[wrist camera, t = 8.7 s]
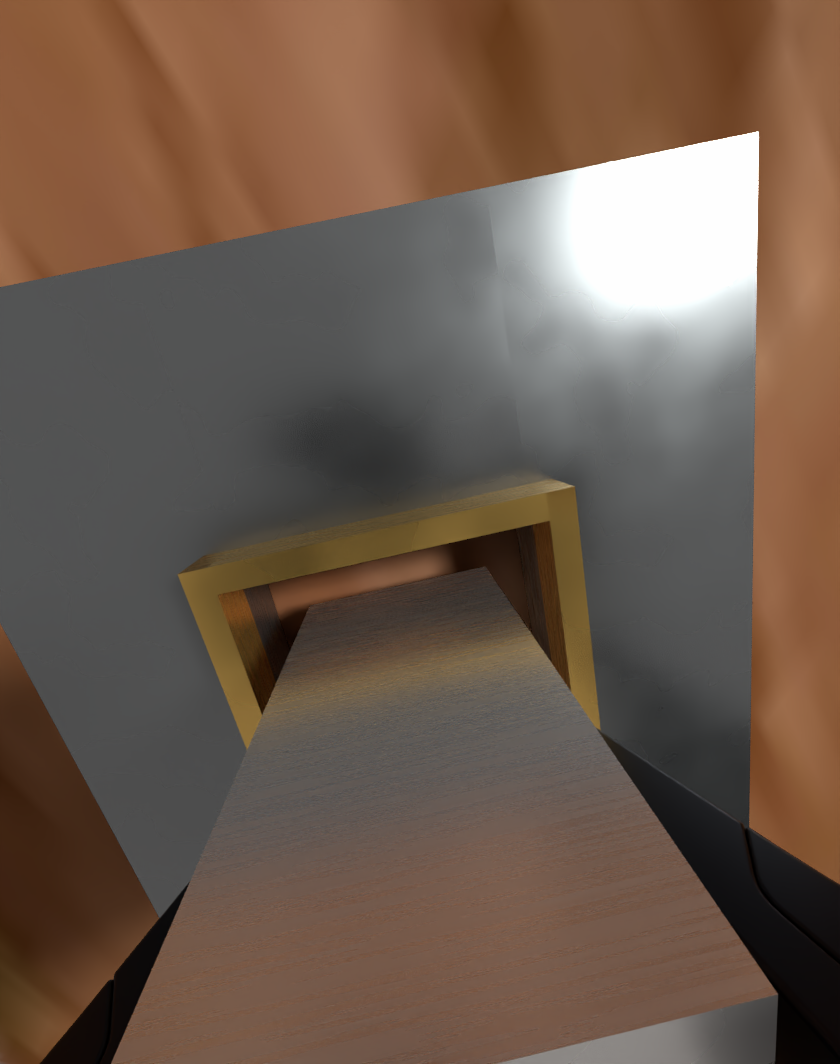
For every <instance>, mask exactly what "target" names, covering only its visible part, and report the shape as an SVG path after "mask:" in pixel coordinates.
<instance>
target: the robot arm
mask: <svg viewBox="0 0 840 1064" xmlns="http://www.w3.org/2000/svg"><path fill="white" fill-rule="evenodd" d="M596 729H597V730H598V732H599V733H600V735H601V736H602V738H603V739H604V741H605V742H606V744H607V745H608V746H609V748H610V749H611V751H612V752H613V754H614V755H615V757H616V758H617V760H618V761H619V763H620V764H621V765H622V767H623V768H624V770H625V771H626V773H627V774H628V776H629V777H630V779H631V780H632V782H633V783H634V784H635V786H636V787H637V789H638V790H639V792H640V793H641V795H642V796H643V798H644V799H645V801H646V802H647V803H648V805H649V806H650V808H651V809H652V811H653V812H654V814H655V815H656V817H657V818H658V820H659V821H660V822H661V824H662V825H663V827H664V828H665V830H666V831H667V833H668V834H669V836H670V837H671V839H672V840H673V842H674V843H675V844H676V846H677V847H678V849H679V850H680V852H681V853H682V855H683V856H684V858H685V859H686V861H687V862H688V863H689V865H690V866H691V868H692V869H693V871H694V872H695V874H696V875H697V877H698V878H699V880H700V881H701V882H702V884H703V885H704V887H705V888H706V890H707V891H708V893H709V894H710V896H711V897H712V899H713V900H714V901H715V903H716V904H717V906H718V907H719V909H720V910H721V912H722V913H723V915H724V916H725V918H726V919H727V920H728V922H729V923H730V925H731V926H732V928H733V929H734V931H735V932H736V934H737V935H738V937H739V938H740V939H741V941H742V942H743V944H744V945H745V947H746V948H747V950H748V951H749V953H750V954H751V956H752V957H753V958H754V960H755V961H756V963H757V964H758V966H759V967H760V969H761V970H762V972H763V973H764V975H765V976H766V978H767V979H768V980H769V982H770V983H771V985H772V986H773V988H774V989H775V991H776V992H777V994H778V1007H777V1030H776V1052H775V1064H840V884H838V883H836V882H835V881H833V880H831V879H829V878H828V877H826V876H825V875H823V874H821V873H820V872H818V871H817V870H815V869H813V868H812V867H810V866H809V865H807V864H806V863H804V862H802V861H801V860H799V859H798V858H796V857H794V856H793V855H791V854H790V853H788V852H786V851H785V850H783V849H782V848H780V847H778V846H777V845H775V844H774V843H772V842H771V841H769V840H768V839H766V838H765V837H763V836H762V835H760V834H759V833H757V832H756V831H754V830H752V829H751V828H746V829H745V827H744V825H743V823H741V822H740V821H738V820H737V819H735V818H734V817H732V816H731V815H729V814H728V813H726V812H725V811H723V810H721V809H720V808H718V807H717V806H715V805H714V804H712V803H711V802H709V801H708V800H706V799H705V798H703V797H702V796H700V795H699V794H697V793H695V792H694V791H692V790H691V789H689V788H688V787H686V786H685V785H683V784H682V783H680V782H679V781H677V780H676V779H674V778H673V777H671V776H669V775H668V774H666V773H665V772H663V771H662V770H660V769H659V768H657V767H656V766H654V765H653V764H651V763H650V762H648V761H647V760H645V759H643V758H642V757H640V756H639V755H637V754H636V753H634V752H633V751H631V750H630V749H628V748H627V747H625V746H624V745H622V744H621V743H619V742H617V741H616V740H614V739H613V738H611V737H610V736H608V735H607V734H605V733H604V732H602V731H601V730H599V729H598V728H596ZM190 881H191V880H190ZM189 883H190V882H189ZM189 883H188V884H187V885H186V886H185V888H184V889H183V890H182V891H181V893H180V894H179V895H178V896H177V897H176V899H175V900H174V901H173V902H172V904H171V905H170V906H169V907H168V909H167V910H166V911H165V912H164V913H163V915H162V916H161V917H160V918H159V920H158V921H157V922H156V923H155V924H154V926H153V927H152V928H151V929H150V931H149V932H148V933H147V934H146V936H145V937H144V938H143V939H142V940H141V942H140V943H139V944H138V945H137V947H136V948H135V949H134V950H133V951H132V953H131V954H130V955H129V956H128V958H127V959H126V960H125V961H124V963H123V964H122V965H121V966H120V967H119V969H118V970H117V971H116V972H115V974H114V980H109V981H108V982H107V983H106V984H105V986H104V987H103V988H102V989H101V990H100V992H99V993H98V994H97V995H96V997H95V998H94V999H93V1000H92V1002H91V1003H90V1004H89V1005H88V1006H87V1008H86V1009H85V1010H84V1011H83V1013H82V1014H81V1015H80V1016H79V1017H78V1019H77V1020H76V1021H75V1022H74V1023H73V1025H72V1026H71V1027H70V1028H69V1029H68V1031H67V1032H66V1033H65V1034H64V1035H63V1037H62V1038H61V1039H60V1040H59V1041H58V1043H57V1044H56V1045H55V1046H54V1047H53V1048H52V1050H51V1051H50V1052H49V1053H48V1054H47V1056H46V1057H45V1058H44V1059H43V1060H42V1062H41V1063H40V1064H111V1063H112V1060H113V1058H114V1056H115V1053H116V1051H117V1049H118V1046H119V1044H120V1042H121V1040H122V1037H123V1035H124V1033H125V1030H126V1028H127V1026H128V1023H129V1021H130V1019H131V1017H132V1014H133V1012H134V1010H135V1007H136V1005H137V1003H138V1000H139V998H140V996H141V993H142V991H143V989H144V987H145V984H146V982H147V980H148V977H149V975H150V973H151V970H152V968H153V966H154V964H155V961H156V959H157V957H158V954H159V952H160V950H161V947H162V945H163V943H164V940H165V938H166V936H167V934H168V931H169V929H170V927H171V924H172V922H173V920H174V917H175V915H176V913H177V911H178V908H179V906H180V904H181V901H182V899H183V897H184V894H185V892H186V890H187V887H188V885H189Z"/></svg>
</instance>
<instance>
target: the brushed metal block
mask: <svg viewBox="0 0 840 1064" xmlns="http://www.w3.org/2000/svg"><path fill="white" fill-rule="evenodd" d="M777 1007H778V994H777V992H776V991H775V989H774V988H773V986H772V985H771V983H770V982H769V980H768V979H767V978H766V976H765V975H764V973H763V972H762V970H761V969H760V967H759V966H758V964H757V963H756V961H755V960H754V958H753V957H752V956H751V954H750V953H749V951H748V950H747V948H746V947H745V945H744V944H743V942H742V941H741V939H740V938H739V937H738V935H737V934H736V932H735V931H734V929H733V928H732V926H731V925H730V923H729V922H728V920H727V919H726V918H725V916H724V915H723V913H722V912H721V910H720V909H719V907H718V906H717V904H716V903H715V901H714V900H713V899H712V897H711V896H710V894H709V893H708V891H707V890H706V888H705V887H704V885H703V884H702V882H701V881H700V880H699V878H698V877H697V875H696V874H695V872H694V871H693V869H692V868H691V866H690V865H689V863H688V862H687V861H686V859H685V858H684V856H683V855H682V853H681V852H680V850H679V849H678V847H677V846H676V844H675V843H674V842H673V840H672V839H671V837H670V836H669V834H668V833H667V831H666V830H665V828H664V827H663V825H662V824H661V822H660V821H659V820H658V818H657V817H656V815H655V814H654V812H653V811H652V809H651V808H650V806H649V805H648V803H647V802H646V801H645V799H644V798H643V796H642V795H641V793H640V792H639V790H638V789H637V787H636V786H635V784H634V783H633V782H632V780H631V779H630V777H629V776H628V774H627V773H626V771H625V770H624V768H623V767H622V765H621V764H620V763H619V761H618V760H617V758H616V757H615V755H614V754H613V752H612V751H611V749H610V748H609V746H608V745H607V744H606V742H605V741H604V739H603V738H602V736H601V735H600V733H599V732H598V730H597V729H596V727H595V726H594V725H593V723H592V722H591V720H590V719H589V717H588V716H587V714H586V713H585V711H584V710H583V708H582V707H581V706H580V704H579V703H578V701H577V700H576V698H575V697H574V695H573V694H572V692H571V691H570V689H569V688H568V687H567V685H566V684H565V682H564V681H563V679H562V678H561V676H560V675H559V673H558V672H557V670H556V669H555V667H554V666H553V665H552V663H551V662H550V660H549V659H548V657H547V656H546V654H545V653H544V651H543V650H542V648H541V647H540V646H539V644H538V643H537V641H536V640H535V638H534V637H533V635H532V634H531V632H530V631H529V629H528V628H527V627H526V625H525V624H524V622H523V621H522V619H521V618H520V616H519V615H518V613H517V612H516V610H515V609H514V608H513V606H512V605H511V603H510V602H509V600H508V599H507V597H506V596H505V594H504V593H503V591H502V590H501V589H500V587H499V586H498V584H497V583H496V581H495V580H494V578H493V577H492V575H491V574H490V572H489V571H488V570H487V568H486V567H481V568H476V569H472V570H467V571H463V572H458V573H454V574H449V575H445V576H440V577H436V578H431V579H427V580H422V581H418V582H413V583H409V584H404V585H400V586H395V587H391V588H386V589H382V590H377V591H373V592H368V593H364V594H359V595H355V596H350V597H346V598H341V599H337V600H332V601H328V602H323V603H319V604H314V605H310V606H309V609H308V611H307V613H306V616H305V618H304V620H303V622H302V625H301V627H300V629H299V632H298V634H297V636H296V639H295V641H294V643H293V646H292V648H291V650H290V652H289V655H288V657H287V659H286V662H285V664H284V666H283V669H282V671H281V673H280V675H279V678H278V680H277V682H276V685H275V687H274V689H273V692H272V694H271V696H270V699H269V701H268V703H267V705H266V708H265V710H264V712H263V715H262V717H261V719H260V722H259V724H258V726H257V728H256V731H255V733H254V735H253V738H252V740H251V742H250V745H249V747H248V749H247V752H246V754H245V756H244V758H243V761H242V763H241V765H240V768H239V770H238V772H237V775H236V777H235V779H234V781H233V784H232V786H231V788H230V791H229V793H228V795H227V798H226V800H225V802H224V805H223V807H222V809H221V811H220V814H219V816H218V818H217V821H216V823H215V825H214V828H213V830H212V832H211V834H210V837H209V839H208V841H207V844H206V846H205V848H204V851H203V853H202V855H201V858H200V860H199V862H198V864H197V867H196V869H195V871H194V874H193V876H192V878H191V881H190V883H189V885H188V887H187V890H186V892H185V894H184V897H183V899H182V901H181V904H180V906H179V908H178V911H177V913H176V915H175V917H174V920H173V922H172V924H171V927H170V929H169V931H168V934H167V936H166V938H165V940H164V943H163V945H162V947H161V950H160V952H159V954H158V957H157V959H156V961H155V964H154V966H153V968H152V970H151V973H150V975H149V977H148V980H147V982H146V984H145V987H144V989H143V991H142V993H141V996H140V998H139V1000H138V1003H137V1005H136V1007H135V1010H134V1012H133V1014H132V1017H131V1019H130V1021H129V1023H128V1026H127V1028H126V1030H125V1033H124V1035H123V1037H122V1040H121V1042H120V1044H119V1046H118V1049H117V1051H116V1053H115V1056H114V1058H113V1060H112V1063H111V1064H775V1052H776V1030H777Z"/></svg>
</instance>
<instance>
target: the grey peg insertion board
mask: <svg viewBox="0 0 840 1064" xmlns="http://www.w3.org/2000/svg"><path fill="white" fill-rule="evenodd" d="M758 141H759V132H755V133H750V134H745V135H740V136H736V137H731V138H726V139H721V140H716V141H711V142H706V143H701V144H697V145H692V146H687V147H682V148H677V149H672V150H667V151H662V152H658V153H653V154H648V155H643V156H638V157H633V158H628V159H623V160H619V161H614V162H609V163H604V164H599V165H594V166H589V167H584V168H580V169H575V170H570V171H565V172H560V173H555V174H550V175H545V176H541V177H536V178H531V179H526V180H521V181H516V182H511V183H506V184H502V185H497V186H492V187H487V188H482V189H477V190H472V191H467V192H463V193H458V194H453V195H448V196H443V197H438V198H433V199H428V200H424V201H419V202H414V203H409V204H404V205H399V206H394V207H389V208H385V209H380V210H375V211H370V212H365V213H360V214H355V215H350V216H346V217H341V218H336V219H331V220H326V221H321V222H316V223H311V224H307V225H302V226H297V227H292V228H287V229H282V230H277V231H272V232H268V233H263V234H258V235H253V236H248V237H243V238H238V239H233V240H229V241H224V242H219V243H214V244H209V245H204V246H199V247H194V248H190V249H185V250H180V251H175V252H170V253H165V254H160V255H155V256H151V257H146V258H141V259H136V260H131V261H126V262H121V263H116V264H112V265H107V266H102V267H97V268H92V269H87V270H82V271H77V272H73V273H68V274H63V275H58V276H53V277H48V278H43V279H38V280H34V281H29V282H24V283H19V284H14V285H9V286H4V287H0V623H1V625H2V627H3V629H4V631H5V633H6V635H7V636H8V638H9V640H10V642H11V644H12V646H13V647H14V649H15V651H16V653H17V655H18V657H19V659H20V660H21V662H22V664H23V666H24V668H25V670H26V672H27V673H28V675H29V677H30V679H31V681H32V683H33V685H34V686H35V688H36V690H37V692H38V694H39V696H40V698H41V699H42V701H43V703H44V705H45V707H46V709H47V710H48V712H49V714H50V716H51V718H52V720H53V722H54V723H55V725H56V727H57V729H58V731H59V733H60V735H61V736H62V738H63V740H64V742H65V744H66V746H67V748H68V749H69V751H70V753H71V755H72V757H73V759H74V761H75V762H76V764H77V766H78V768H79V770H80V772H81V774H82V775H83V777H84V779H85V781H86V783H87V785H88V786H89V788H90V790H91V792H92V794H93V796H94V798H95V799H96V801H97V803H98V805H99V807H100V809H101V811H102V812H103V814H104V816H105V818H106V820H107V822H108V824H109V825H110V827H111V829H112V831H113V833H114V835H115V837H116V838H117V840H118V842H119V844H120V846H121V848H122V850H123V851H124V853H125V855H126V857H127V859H128V861H129V862H130V864H131V866H132V868H133V870H134V872H135V874H136V875H137V877H138V879H139V881H140V883H141V885H142V887H143V888H144V890H145V892H146V894H147V896H148V898H149V900H150V901H151V903H152V905H153V907H154V909H155V911H156V913H157V914H158V916H159V918H160V917H161V916H162V915H163V913H164V912H165V911H166V910H167V909H168V907H169V906H170V905H171V904H172V902H173V901H174V900H175V899H176V897H177V896H178V895H179V894H180V893H181V891H182V890H183V889H184V888H185V886H186V885H187V884H188V883H189V882H190V880H191V878H192V876H193V874H194V871H195V869H196V867H197V864H198V862H199V860H200V858H201V855H202V853H203V851H204V848H205V846H206V844H207V841H208V839H209V837H210V834H211V832H212V830H213V828H214V825H215V823H216V821H217V818H218V816H219V814H220V811H221V809H222V807H223V805H224V802H225V800H226V798H227V795H228V793H229V791H230V788H231V786H232V784H233V781H234V779H235V777H236V775H237V772H238V770H239V768H240V765H241V763H242V761H243V758H244V756H245V754H246V752H247V749H248V747H249V745H250V742H251V740H252V738H253V735H254V733H255V731H256V728H257V726H258V724H259V722H260V719H261V717H262V715H263V712H264V710H265V708H266V705H267V703H268V701H269V699H270V696H271V694H272V692H273V689H274V687H275V685H276V682H277V680H278V678H279V675H280V673H281V671H282V669H283V666H284V664H285V662H286V659H287V657H288V655H289V652H290V649H289V646H288V643H287V640H286V637H285V634H284V631H283V628H282V625H281V622H280V619H279V616H278V613H277V610H276V607H275V604H274V601H273V598H272V595H271V592H270V589H269V586H268V583H272V582H277V581H281V580H286V579H290V578H295V577H299V576H304V575H308V574H313V573H317V572H322V571H326V570H331V569H335V568H340V567H344V566H349V565H353V564H358V563H362V562H367V561H371V560H376V559H380V558H385V557H389V556H394V555H398V554H403V553H407V552H412V551H416V550H421V549H425V548H430V547H434V546H439V545H443V544H448V543H452V542H457V541H461V540H466V539H470V538H474V537H479V536H483V535H488V534H492V533H497V532H501V531H506V530H510V529H515V528H516V530H517V537H518V544H519V550H520V557H521V564H522V570H523V577H524V584H525V590H526V597H527V604H528V611H529V617H530V624H531V631H532V635H533V637H534V638H535V640H536V641H537V643H538V644H539V646H540V647H541V648H542V650H543V651H544V653H545V654H546V656H547V657H548V659H549V660H550V662H551V663H552V665H553V666H554V667H555V669H556V670H557V672H558V673H559V675H560V676H561V678H562V679H563V681H564V682H565V684H566V685H567V687H568V688H569V689H570V691H571V692H572V694H573V695H574V697H575V698H576V700H577V701H578V703H579V704H580V706H581V707H582V708H583V710H584V711H585V713H586V714H587V716H588V717H589V719H590V720H591V722H592V723H593V725H594V726H595V727H596V728H598V729H599V730H601V731H602V732H604V733H605V734H607V735H608V736H610V737H611V738H613V739H614V740H616V741H617V742H619V743H621V744H622V745H624V746H625V747H627V748H628V749H630V750H631V751H633V752H634V753H636V754H637V755H639V756H640V757H642V758H643V759H645V760H647V761H648V762H650V763H651V764H653V765H654V766H656V767H657V768H659V769H660V770H662V771H663V772H665V773H666V774H668V775H669V776H671V777H673V778H674V779H676V780H677V781H679V782H680V783H682V784H683V785H685V786H686V787H688V788H689V789H691V790H692V791H694V792H695V793H697V794H699V795H700V796H702V797H703V798H705V799H706V800H708V801H709V802H711V803H712V804H714V805H715V806H717V807H718V808H720V809H721V810H723V811H725V812H726V813H728V814H729V815H731V816H732V817H734V818H735V819H737V820H738V821H740V822H741V823H743V825H744V827H745V829H746V828H749V793H750V720H751V648H752V576H753V503H754V431H755V358H756V286H757V214H758Z"/></svg>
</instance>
